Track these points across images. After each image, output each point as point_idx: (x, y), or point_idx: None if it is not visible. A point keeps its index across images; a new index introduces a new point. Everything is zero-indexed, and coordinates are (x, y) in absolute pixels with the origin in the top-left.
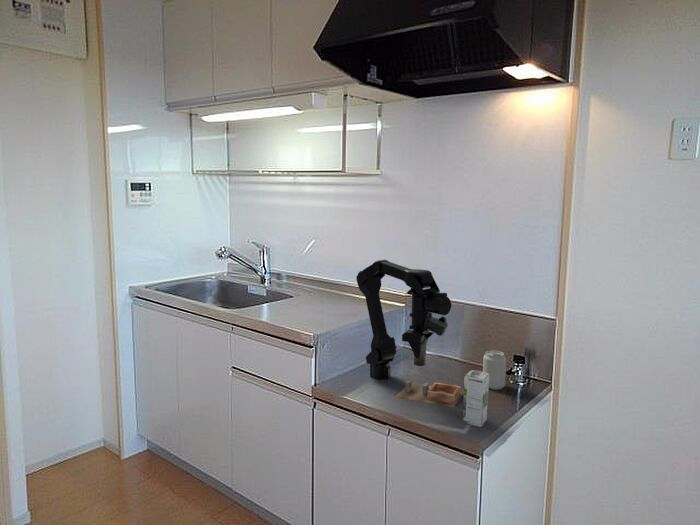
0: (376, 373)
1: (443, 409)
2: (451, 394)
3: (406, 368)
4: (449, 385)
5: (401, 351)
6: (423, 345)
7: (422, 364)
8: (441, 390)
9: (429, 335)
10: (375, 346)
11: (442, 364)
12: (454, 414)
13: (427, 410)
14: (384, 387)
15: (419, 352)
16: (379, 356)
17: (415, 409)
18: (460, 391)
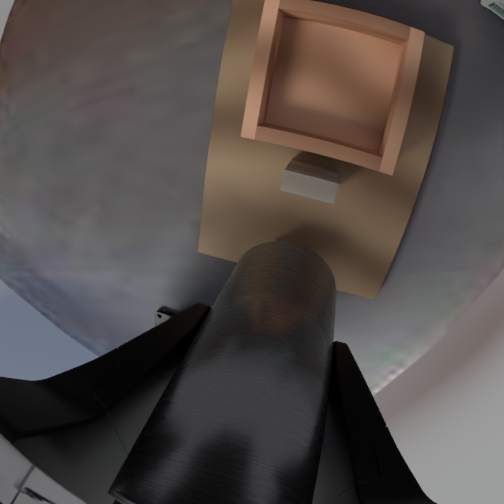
0: None
1: (448, 92)
2: (312, 43)
3: (72, 261)
4: (267, 51)
5: (5, 274)
6: (304, 442)
7: (329, 276)
8: (270, 96)
9: (39, 448)
10: None
11: (10, 156)
12: (482, 54)
13: (467, 164)
14: None
15: (371, 401)
16: None
17: (460, 214)
18: (241, 9)
